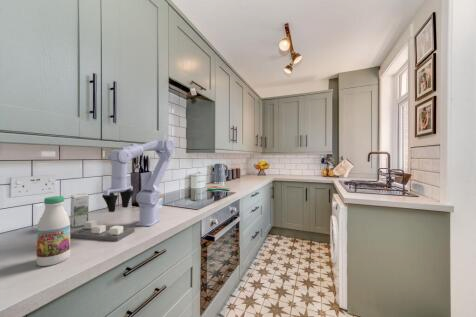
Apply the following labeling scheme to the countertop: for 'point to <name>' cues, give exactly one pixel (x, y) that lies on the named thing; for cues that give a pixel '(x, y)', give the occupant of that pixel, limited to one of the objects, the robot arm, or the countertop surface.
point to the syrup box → (79, 209)
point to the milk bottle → (53, 233)
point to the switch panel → (101, 234)
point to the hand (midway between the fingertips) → (118, 209)
